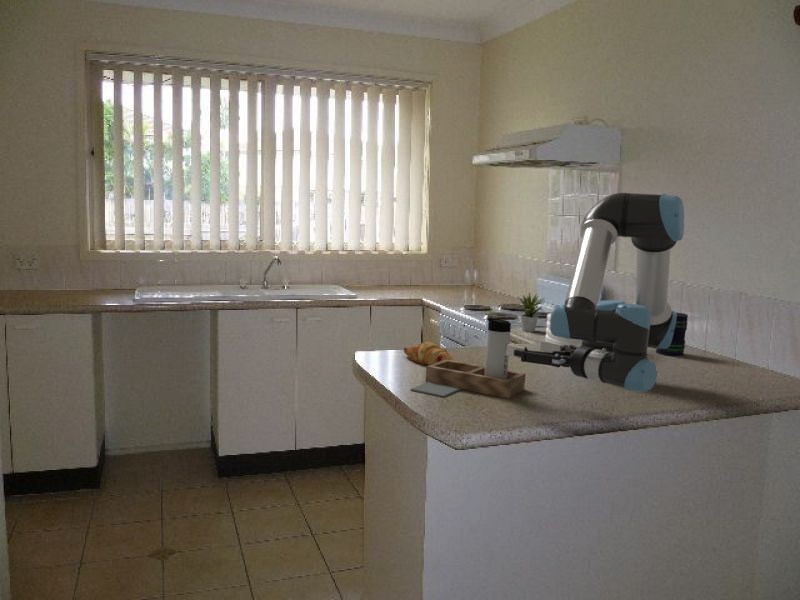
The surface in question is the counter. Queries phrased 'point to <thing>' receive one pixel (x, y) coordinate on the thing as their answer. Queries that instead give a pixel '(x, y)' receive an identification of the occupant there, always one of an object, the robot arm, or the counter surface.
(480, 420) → the counter surface
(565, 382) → the counter surface
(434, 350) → the croissant
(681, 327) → the storage jar
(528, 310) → the house plant
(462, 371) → the wooden divided tray
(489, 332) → the travel mug
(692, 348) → the counter surface
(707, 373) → the counter surface
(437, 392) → the mat
